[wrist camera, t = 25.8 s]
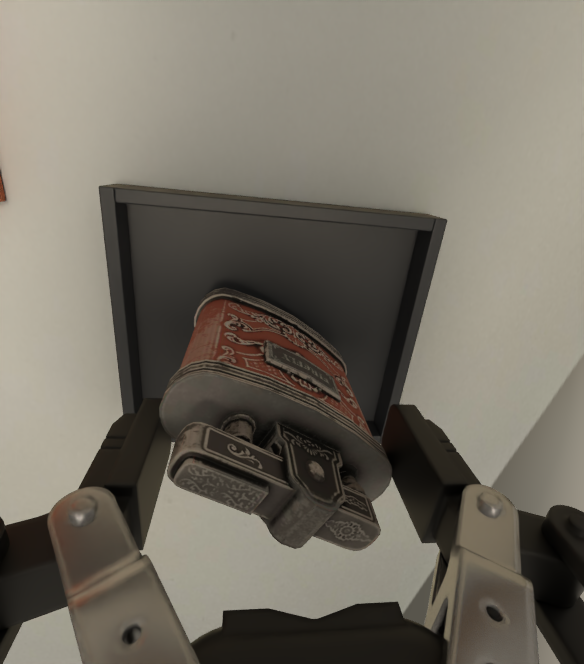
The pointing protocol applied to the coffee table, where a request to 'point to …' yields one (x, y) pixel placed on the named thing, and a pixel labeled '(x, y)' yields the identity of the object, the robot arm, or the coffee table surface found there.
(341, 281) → the charcoal tray
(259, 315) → the lighter
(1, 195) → the terracotta tray
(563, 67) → the coffee table surface
